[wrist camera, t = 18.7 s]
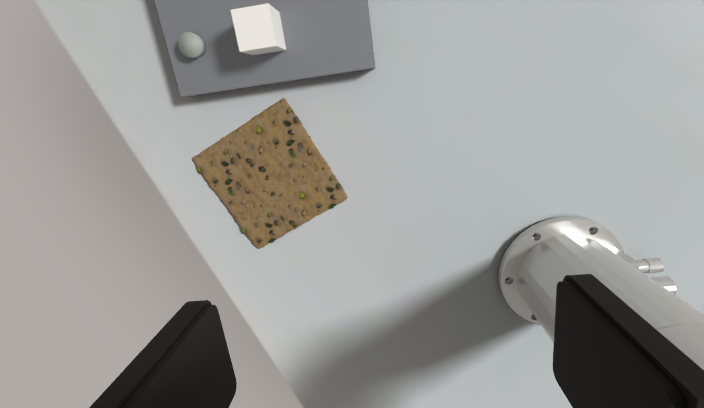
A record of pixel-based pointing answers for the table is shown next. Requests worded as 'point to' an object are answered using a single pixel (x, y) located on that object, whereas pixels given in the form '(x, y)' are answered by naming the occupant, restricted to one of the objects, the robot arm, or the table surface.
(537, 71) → the table surface
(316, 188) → the seeded cracker
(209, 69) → the breaker panel
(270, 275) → the table surface
